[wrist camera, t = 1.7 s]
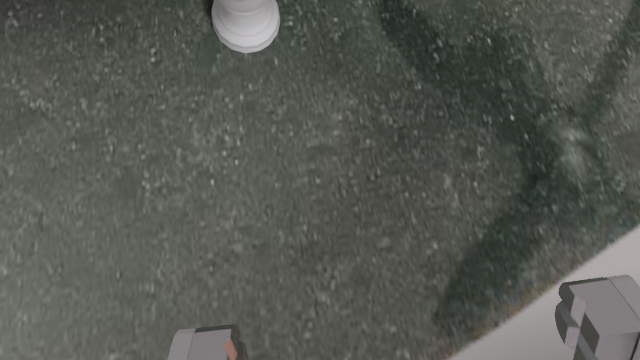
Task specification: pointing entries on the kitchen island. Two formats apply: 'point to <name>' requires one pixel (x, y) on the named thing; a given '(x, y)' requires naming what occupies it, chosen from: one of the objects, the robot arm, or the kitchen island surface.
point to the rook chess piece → (246, 23)
